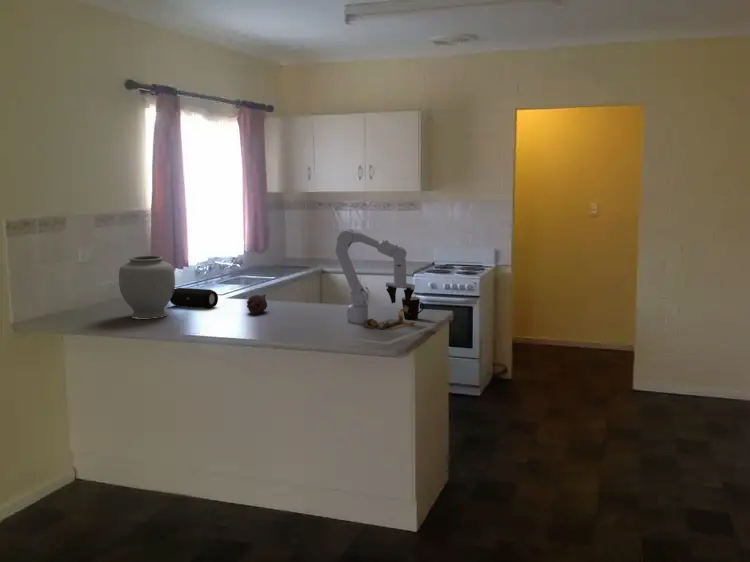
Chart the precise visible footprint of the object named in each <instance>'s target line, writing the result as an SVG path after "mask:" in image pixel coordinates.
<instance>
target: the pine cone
mask: <svg viewBox="0 0 750 562" xmlns="http://www.w3.org/2000/svg"><path fill="white" fill-rule="evenodd" d="M266 296H267V295H266V294H262V295H259V294H254V295H251V297H248V300H247V301H246V304H247V305H246V307H247V308H248V309H247V310H248V311H249V313H250V314H252V315H257V314H259V313H260V312H265V310H266V309H267V307H268V302H267V300H266Z"/></svg>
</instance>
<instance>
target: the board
mask: <svg viewBox="0 0 750 562" xmlns="http://www.w3.org/2000/svg"><path fill="white" fill-rule="evenodd" d="M372 320H375V319H374V318H368V320H365V321H364V323H363V327H364V328H367V329H377V330H381V329H380V328H378V325H381V324H383V322H391V321H394V320H395V319H393V318H392V319H391V318H389V319H387V320H383V321H380V322H377V326H376V327H374V326H371V325H370V322H371V321H372ZM416 323H418V322H417V321H412V320H403V322H402V323H399V324H396V325H393V326H390V327H387V328H383V329H382V330H385V331H396V330H399V329H402V328H405V327H409V326H410V327H413V326H415V325H414V324H416Z"/></svg>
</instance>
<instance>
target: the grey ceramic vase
mask: <svg viewBox="0 0 750 562" xmlns="http://www.w3.org/2000/svg"><path fill="white" fill-rule="evenodd" d="M128 260H129V262H127V263H124V264H122V265H121V266H120V267H119V271H118V287H119V291H120V293H121V294H120V295H121V296H122V298H123V300H124V301H125V303H126V304H127V305H128V306H129V307H130V308H131V309H132V310H133V312H132V314H131V315H130V317H131V316H132V317H138V318H153V317H161V316H165V315H167V316H168V312H167V311H165V308H166V307H167V305H168V303H169V302H170V299H171V297H172V295H173V293H174V289H176V275H175V273H176V272H175V268H174V267H173V265H172V264H171V263H169V262H167V261H163V256H161V255H136V256H131V257H129V259H128ZM165 317H166V316H165Z"/></svg>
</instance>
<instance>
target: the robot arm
mask: <svg viewBox="0 0 750 562" xmlns="http://www.w3.org/2000/svg"><path fill="white" fill-rule="evenodd" d="M354 243H362V244H365V245H368V246H371V247H372V248H375V249H376V250H377V252H378V253H380V254H382V255H385V256H387V257H389V258H392V259H393V282H389V281H388V282H386V283H385V288H386V291H387V294H388V295H389V297H390V302H391V304H395V303H396V300H397V299H396V296H397V294H396V293H397V289H403V292H404V297H405V303H406V305H408V304H409V303H410V299H411V297H413V293H414V292H415V289H416V285H415V284H412V283H408V282H407V260H406V257H407V254H408V253H407V250H406V249H405V248H404V247H403V246H399V245H397V244H396V245H395V244H392V243H390V242H389V240H388V239H386V240H381V241H378V240H377V239H375V238H373V237H370V236H368V235H367V234H365V233H362V232H360V231H357V230H353V229H351V228H348V229H346V230H343V231H341V232H340V233H339V235H338V236H337V238H336V246H335V254H336V256H337V259H338V262H339V263H340V266H341V269H342V271H343V274H344V276H345V278H346V282H347V284H348V286H349V292H350V295H351V301H350V302H351V304H349V305H348V307H347V309H346V322H347V323H353V324H358V325H359V324H364V321H365V320H368V319H369V304H368V302H367V301H368V299H369V294H368V292H367V291H366V290H365V289H364V286H363V285H362V284H361V283H360V279H359V278H358V274H357V272H356V270H355V267H354V265H353V263H352V259H351V257H350V256H349V252H348V251H349V249H350V246H351V245H352V244H354Z"/></svg>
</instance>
